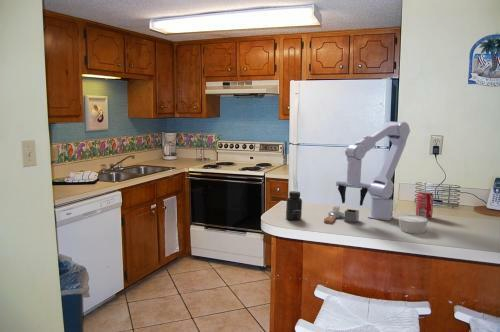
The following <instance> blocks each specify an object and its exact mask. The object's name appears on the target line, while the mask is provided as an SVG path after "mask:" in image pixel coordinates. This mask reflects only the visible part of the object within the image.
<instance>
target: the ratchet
mask: <svg viewBox="0 0 500 332" xmlns="http://www.w3.org/2000/svg"><path fill="white" fill-rule="evenodd" d="M327 214H328V216H326V217H325V218H324V219H323V223H324V224H330V225H332V224H333V223H334V222H335V220H337V219H344V216H345V212H342V211H341V206H338V205H334V206H332V211H329V212H328V213H327Z"/></svg>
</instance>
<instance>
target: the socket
mask: <svg viewBox="0 0 500 332" xmlns="http://www.w3.org/2000/svg"><path fill="white" fill-rule="evenodd" d="M359 216H360V210H359V209H349V208H347V209H346V210H345V211H344V218H343V222H345V223H351V224H357V223H358V222H359V221H360V220H359V219H360V217H359Z"/></svg>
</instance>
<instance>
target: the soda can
mask: <svg viewBox="0 0 500 332" xmlns="http://www.w3.org/2000/svg"><path fill="white" fill-rule="evenodd" d="M434 197H435V196H434V194H433V191H430V190H418V193H417V196H416V202H415V203H416V206H415V215H416V216H421V217H424V218H426V219H428V220H429V219H430V218H432V217H433V211H434V199H435V198H434Z"/></svg>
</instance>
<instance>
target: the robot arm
mask: <svg viewBox="0 0 500 332" xmlns="http://www.w3.org/2000/svg"><path fill="white" fill-rule="evenodd" d="M410 132H411V128H410V126H409V123H408V122H406V121H401V122H400V121H391V120H390V121H387V122H385V123H384V124H383V125H382V127H380V128H379V129H378V130H376V132H374V133H372V135H364V136H363V137H362V139H360V140H358V141H356V142H355V143H354V144H350V145H349V146H348V147H347V148H346V150H345V151H344V152H345V153H344V154H345V156H346V161H347V171H346V181H341V180H340V181H339V180H337V181H336V182H335V183H336V184H335V186H336V187H337V190H338V192H339V194H340V198H341V204H345V203H346V193H347V191H346V190H347V188H353V189H354V188H356V189H360V193H359V194H360V195H359V196H360V197H359V198H360V199H359V207H360V206H363V205H364V200H365V198H366V196H367V193H368V194H369V196H370V198H371V200H370V214H369V215H368V216H367V218H369V219H375V220H376V219H377V220H383V221H391V219H392V218H393V212H394V199H390V198H391V197H392V195H393V191H394V187H395V184H394V182H393V181H392V178H393V176H394V174H395V171H396V169H397V166H398V163H399V161H400V159H401V157H402V155H403V152H404V150H405V148H406V144H407V140H408V138H409V135H410ZM385 137H387V138H388V140H389V141H390V142H391V146H390V149H389V151H388V153H387V156H386V158H385V160H384V163H383V165H382V167H381V170H380V171H379V175H377V176H375V177H374V178H373V179H372V180H371V182H370V183H363V182H361V177H362V162H363V161H362V159H364V157H365V156H366V154H367V153H368V152H369V151H370V150H371V149H373V148H374V147H376V146H377V145H376V144H377V142H379V141H381V140H382V139H384V138H385Z"/></svg>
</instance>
